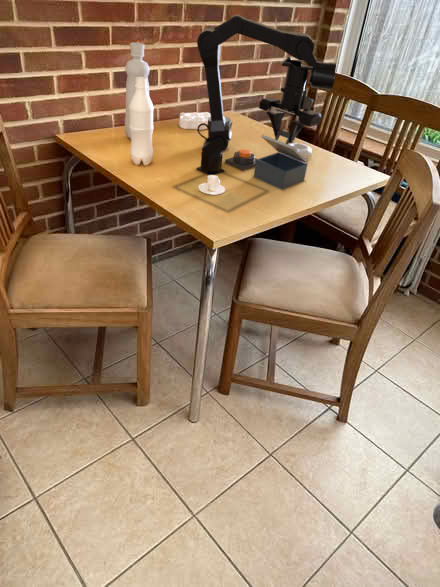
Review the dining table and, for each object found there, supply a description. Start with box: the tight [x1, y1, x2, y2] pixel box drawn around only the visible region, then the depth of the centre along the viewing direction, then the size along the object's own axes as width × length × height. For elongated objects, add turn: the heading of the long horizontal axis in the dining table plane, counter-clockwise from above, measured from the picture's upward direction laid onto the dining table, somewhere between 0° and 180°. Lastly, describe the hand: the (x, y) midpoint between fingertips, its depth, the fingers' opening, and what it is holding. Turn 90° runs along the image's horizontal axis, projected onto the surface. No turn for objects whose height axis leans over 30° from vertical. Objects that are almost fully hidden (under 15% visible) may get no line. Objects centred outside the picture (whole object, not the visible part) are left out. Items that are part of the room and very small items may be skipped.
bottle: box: [124, 42, 151, 140], centre depth 153 cm, size 9×9×30 cm
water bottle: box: [129, 77, 155, 166], centre depth 137 cm, size 7×7×25 cm
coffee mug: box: [196, 116, 234, 152], centre depth 159 cm, size 12×9×10 cm
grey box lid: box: [261, 128, 309, 164], centre depth 139 cm, size 12×12×4 cm
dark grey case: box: [253, 151, 308, 191], centre depth 143 cm, size 12×12×6 cm
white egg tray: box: [178, 111, 211, 131], centre depth 180 cm, size 3×18×15 cm
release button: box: [238, 148, 252, 158], centre depth 151 cm, size 4×4×2 cm
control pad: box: [224, 150, 257, 172], centre depth 152 cm, size 10×8×3 cm
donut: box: [289, 142, 313, 160], centre depth 163 cm, size 10×4×10 cm
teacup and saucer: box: [197, 175, 226, 196], centre depth 133 cm, size 9×8×4 cm
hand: (283, 140), depth 137 cm, fingers closed on grey box lid, 5 cm apart
